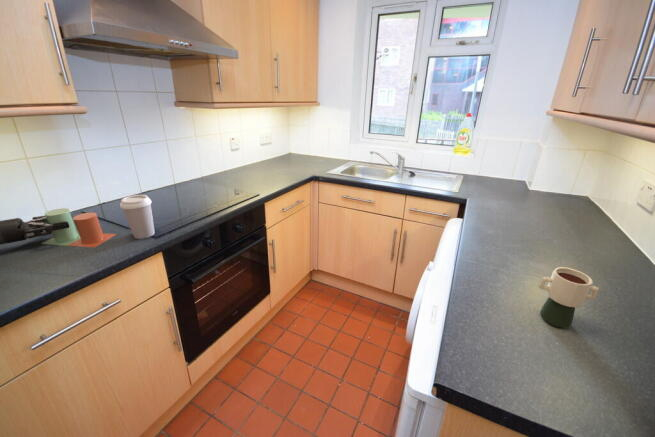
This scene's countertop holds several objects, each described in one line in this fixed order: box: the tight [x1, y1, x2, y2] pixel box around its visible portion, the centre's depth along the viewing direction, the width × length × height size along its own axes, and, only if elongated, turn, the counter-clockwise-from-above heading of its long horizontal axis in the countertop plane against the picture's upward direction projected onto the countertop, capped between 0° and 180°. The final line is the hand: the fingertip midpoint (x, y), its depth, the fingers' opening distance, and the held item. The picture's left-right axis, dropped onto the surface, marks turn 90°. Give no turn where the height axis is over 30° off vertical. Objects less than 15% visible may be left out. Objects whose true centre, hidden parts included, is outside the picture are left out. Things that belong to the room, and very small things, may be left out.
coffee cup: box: [119, 194, 156, 240], centre depth 106 cm, size 10×10×15 cm
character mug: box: [538, 266, 600, 329], centre depth 69 cm, size 11×7×13 cm, turn 69°
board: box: [40, 231, 117, 248], centre depth 105 cm, size 10×20×1 cm, turn 84°
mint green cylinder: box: [44, 207, 78, 242], centre depth 103 cm, size 6×6×10 cm
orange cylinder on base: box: [72, 212, 104, 244], centre depth 102 cm, size 6×6×9 cm
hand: (69, 220), depth 104 cm, fingers closed on mint green cylinder, 6 cm apart
